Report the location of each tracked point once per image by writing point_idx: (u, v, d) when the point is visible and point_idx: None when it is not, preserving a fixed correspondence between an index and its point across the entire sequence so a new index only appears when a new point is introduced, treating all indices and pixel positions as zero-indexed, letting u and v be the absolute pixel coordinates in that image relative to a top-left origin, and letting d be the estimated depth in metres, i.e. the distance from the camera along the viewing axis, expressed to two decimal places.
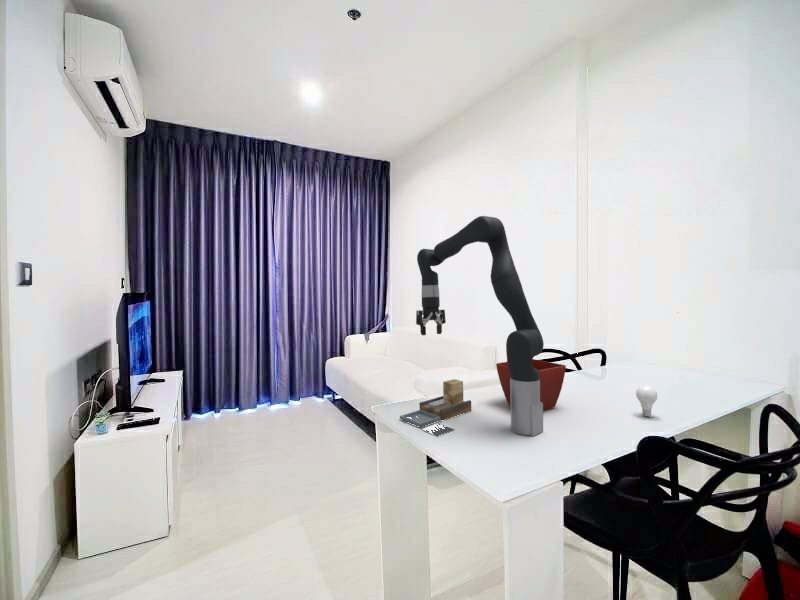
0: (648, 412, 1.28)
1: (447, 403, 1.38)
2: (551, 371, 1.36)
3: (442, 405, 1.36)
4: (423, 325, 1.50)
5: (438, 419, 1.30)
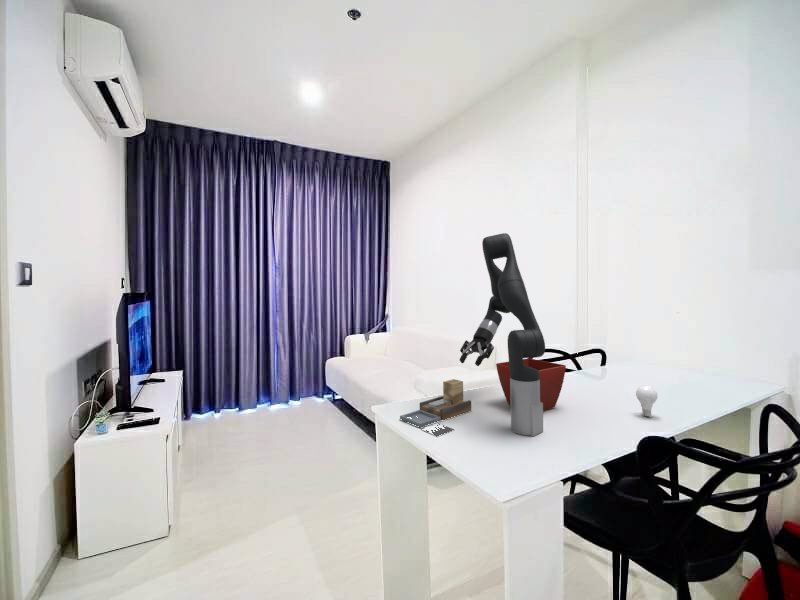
0: (648, 412, 1.28)
1: (447, 403, 1.38)
2: (551, 371, 1.36)
3: (442, 405, 1.36)
4: (462, 352, 1.54)
5: (438, 419, 1.30)
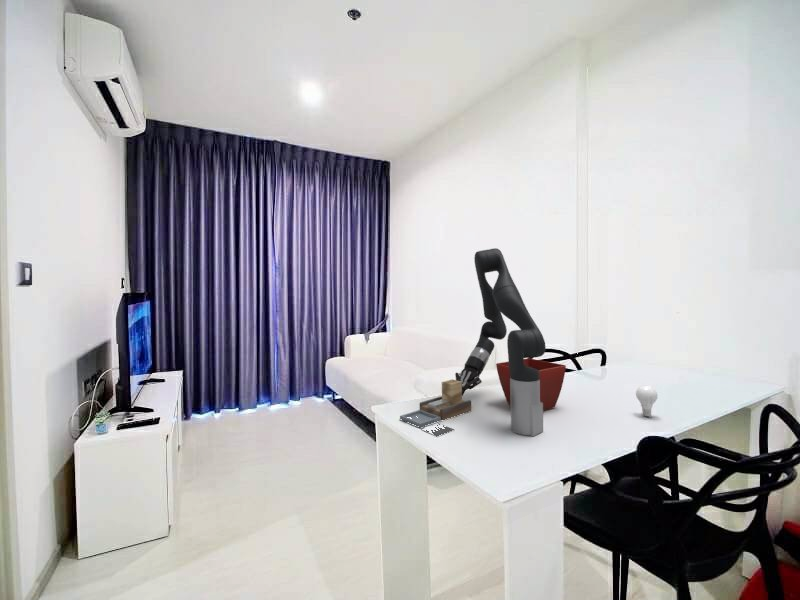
0: (648, 412, 1.28)
1: (447, 403, 1.38)
2: (551, 371, 1.36)
3: (442, 405, 1.36)
4: None
5: (438, 419, 1.30)
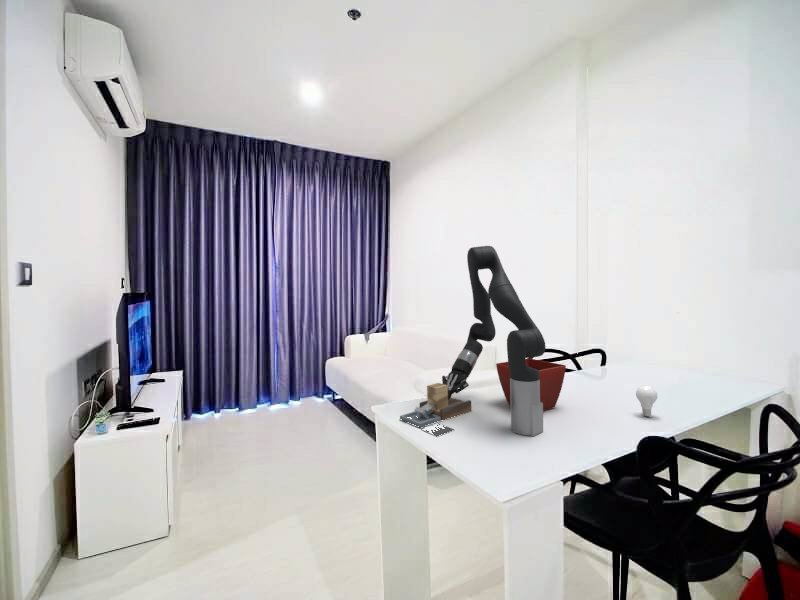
0: (648, 412, 1.28)
1: (431, 409, 1.32)
2: (551, 371, 1.36)
3: (423, 412, 1.30)
4: None
5: (438, 419, 1.30)
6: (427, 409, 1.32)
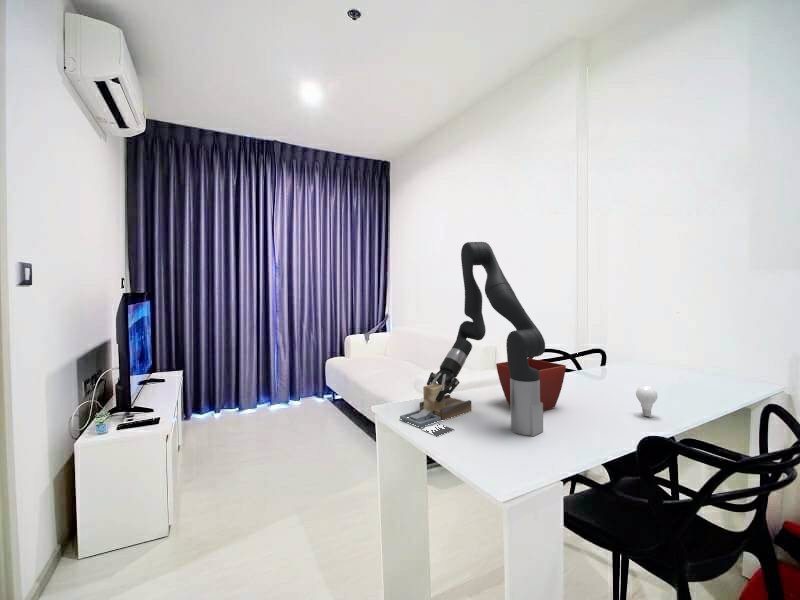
0: (648, 412, 1.28)
1: (429, 414, 1.32)
2: (551, 371, 1.36)
3: (417, 420, 1.28)
4: None
5: (438, 419, 1.30)
6: (424, 414, 1.31)
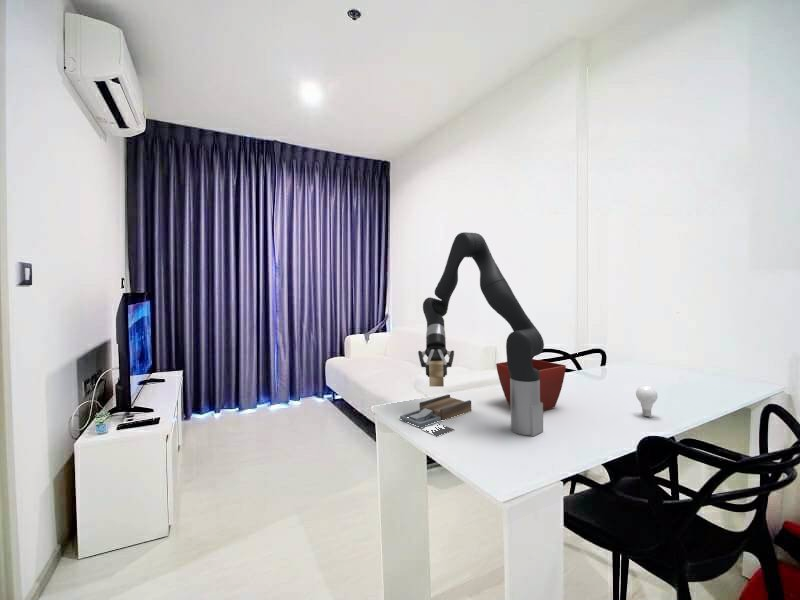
0: (648, 412, 1.28)
1: (429, 414, 1.32)
2: (551, 371, 1.36)
3: (417, 420, 1.28)
4: (426, 364, 1.34)
5: (438, 419, 1.30)
6: (424, 414, 1.31)
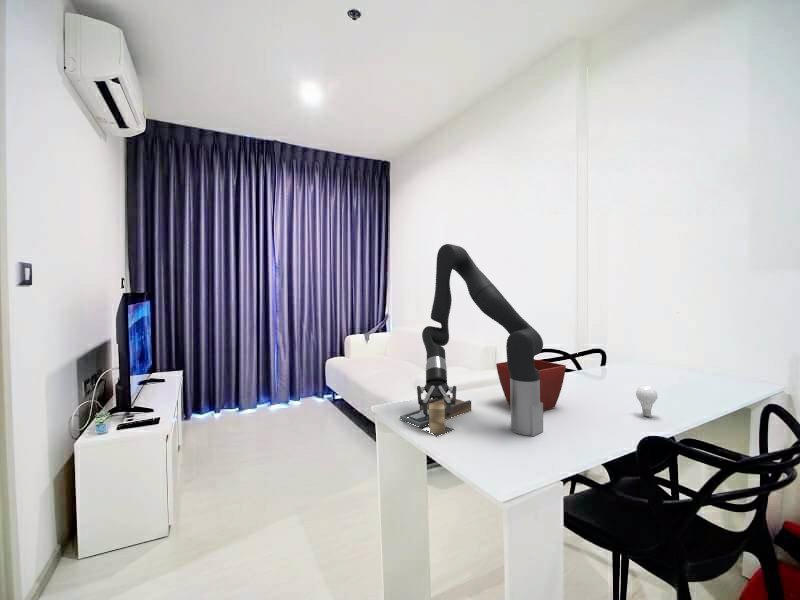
0: (648, 412, 1.28)
1: None
2: (551, 371, 1.36)
3: (417, 420, 1.28)
4: (423, 402, 1.23)
5: None
6: None
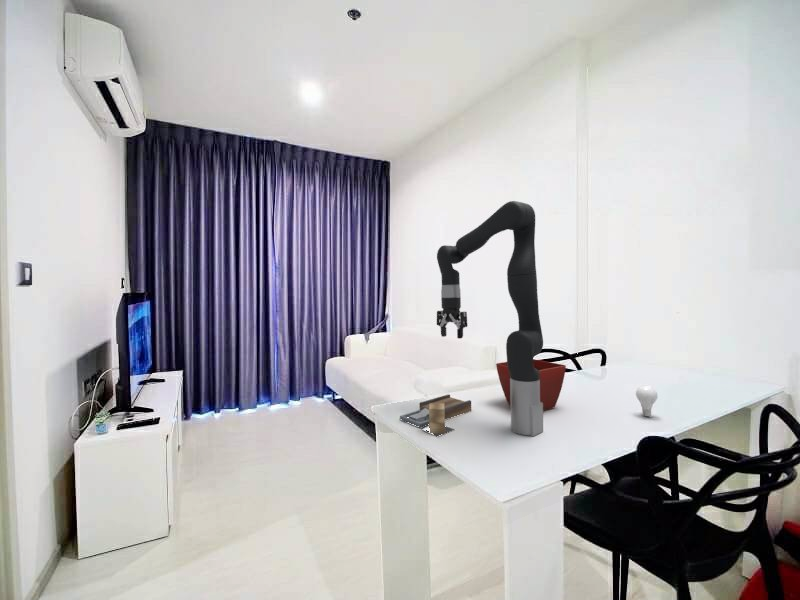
0: (648, 412, 1.28)
1: None
2: (551, 371, 1.36)
3: (417, 420, 1.28)
4: (440, 326, 1.47)
5: None
6: (424, 414, 1.31)
